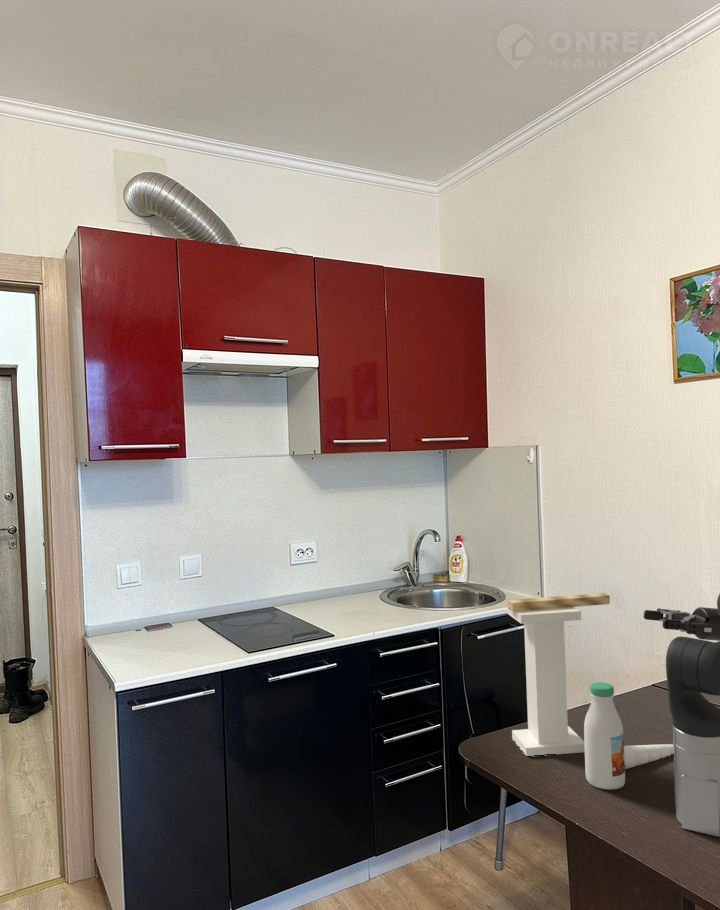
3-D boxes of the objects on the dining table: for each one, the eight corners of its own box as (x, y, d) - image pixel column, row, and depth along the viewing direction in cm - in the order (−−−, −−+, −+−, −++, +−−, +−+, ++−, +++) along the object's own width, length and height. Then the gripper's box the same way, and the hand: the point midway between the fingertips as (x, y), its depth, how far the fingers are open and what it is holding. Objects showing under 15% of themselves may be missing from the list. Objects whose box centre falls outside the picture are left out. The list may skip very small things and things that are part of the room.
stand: (568, 734, 166) (563, 601, 165) (586, 752, 156) (580, 611, 156) (512, 738, 164) (507, 605, 164) (526, 756, 154) (520, 615, 154)
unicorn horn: (706, 754, 153) (706, 733, 152) (618, 775, 145) (618, 753, 145) (690, 746, 157) (689, 725, 157) (604, 766, 149) (603, 744, 149)
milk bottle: (600, 793, 137) (596, 693, 137) (578, 776, 144) (574, 681, 144) (633, 787, 139) (629, 688, 139) (610, 770, 146) (606, 677, 146)
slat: (603, 601, 164) (603, 593, 164) (609, 604, 161) (609, 595, 161) (508, 608, 161) (507, 600, 161) (512, 611, 158) (512, 603, 158)
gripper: (701, 602, 171) (640, 596, 170) (738, 616, 157) (672, 610, 155) (698, 632, 171) (636, 626, 170) (735, 649, 157) (668, 643, 155)
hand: (653, 619), depth 162 cm, fingers open, 8 cm apart
